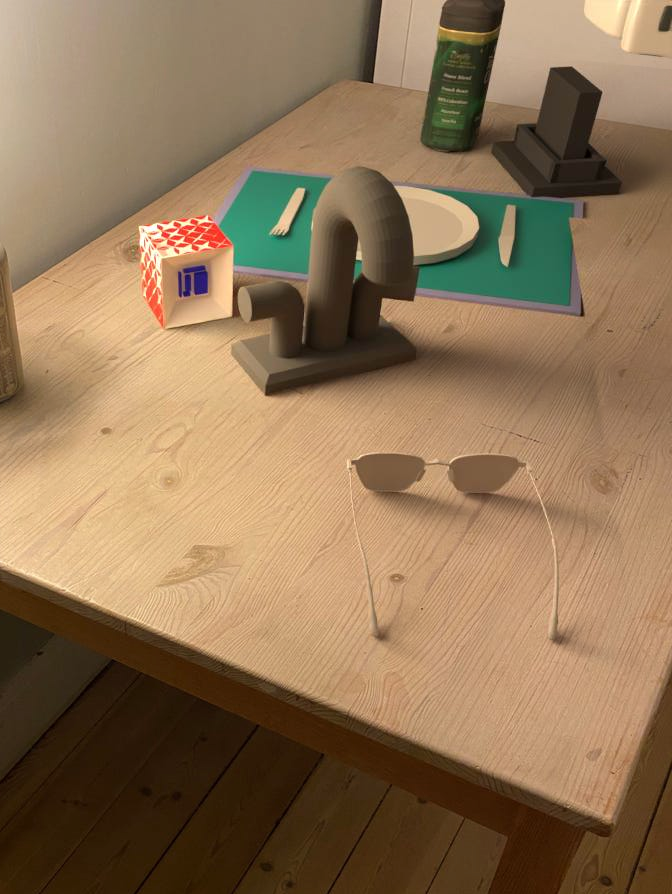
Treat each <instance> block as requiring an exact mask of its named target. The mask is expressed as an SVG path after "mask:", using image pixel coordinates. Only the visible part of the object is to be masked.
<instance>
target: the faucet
mask: <svg viewBox="0 0 672 894" xmlns="http://www.w3.org/2000/svg"><path fill="white" fill-rule="evenodd" d="M334 176H335V177H334V178H333V179H332V180H331V181H330V182H329V183H328V184H327V185H326V186H325V188H324V190H323V192H322V194H321V196H320V198H319V200H318V202H317V206H316V210H315V213H314V217H313V226H312V236H311V248H310V261H309V273H308V282H307V286H306V296H305V297H306V299H305V301H304V299H303V297H302V295H301V293H300V292H299V290H298V289H297V287H295V286H294V285H293V284H291V283H289V282H286V281H284V280H271V281H266V282H261V283H256V284H250V285H245V286H240V288H239V290H238V292H237V307H238V311H239V313H240V317H241V318H242V319H241V320H243V321H244V322H245V323H252V322H257V321H261V320H266V319H270V325H269V327H270V328H269V333H267V334H262V335H257V336H253V337H249V338H245V339H241V340H238V341H236V342H233V343H232V344H231V346H230V354H231V357H233V359H235V361H236V362H237V363H238V365H239V366H240V367H241V368H242V369H243V371H244V372H245V373H246V374H247V375H248V377H249V378H250V379H251V380H252V382H253V383H254V384H255V386H257V388H258V389H259V390H260V392H262V394H263V395H264V396H269V395H272V394H277V393H281V392H285V391H288V390H294V389H297V388H301V387H305V386H310V385H314V384H318V383H322V382H326V381H330V380H334V379H339V378H342V377H343V378H344V377H348V376H350V375H355V374H359V373H364V372H367V371H372V370H376V369H379V368H385V367H387V366H392V365H396V364H400V363H404V362H409V361H413V360H416V359H417V354H418V348H417V347H416V346H415V345H414V344H413V343H412V342H411V341H410V340H409V339H408V338H406V337H405V336H404V335H403V334H402V333H401V332H400V331H399V330H397V328H396V327H394V326H393V325H392V324H391V322H389V321H388V320H387V319H386V318H385V317H384V316H383V315H381V311H382V303H383V299H386V300H387V299H388V300H394V301H395V300H396V301H404V302H405V301H406V302H414V300H415V297H416V296H415V293H416V288H417V282H418V276H419V268H420V266H413V262H414V249H413V235H412V230H411V226H410V221H409V216H408V214H407V211H406V208H405V206H404V203H403V200H402V198H401V197H400V195H399V194H398V192H397V190H396V189H395V187H394V186H393V184H392V183H391V182H390V181H391V180H389V179H388V178H387V177H386V176H385V175H383V174H382V172H380V171H378V170H376V169H373V168H370V167H367V166H355V167H350V168H347V169H343V170H341V171H339V172H338V173H337V174H336V175H334ZM358 239H359V242H360V246H361V254H362V272H361V273H360V274H359V275H358V276H357V277H356V279H355V281H354V272H355V264H356V255H357V247H358ZM353 281H354V282H353ZM304 302H305V303H304Z"/></svg>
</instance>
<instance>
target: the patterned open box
mask: <svg viewBox="0 0 672 894" xmlns="http://www.w3.org/2000/svg"><path fill="white" fill-rule="evenodd" d="M138 236H139V237H138V238H139V253H140V255H139V256H140V270H141V271H140V273H141V290H142V293H141V294H142V298H143V299H144V301H145V302H146V304H147V305H148V307H149V308H150V310H151V311H152V313H153V315H154V316H155V318H156V319H157V321H158V323H159V324H160V326H161V328H162V329H163V330H166V329H172V328H178V327H185V326H189V325H194V324H201V323H205V322H211V321H216V320H221V319H227V318H232V317H233V305H234V304H233V302H234V299H233V295H234V294H233V293H234V289H233V288H234V273H233V256H234V246H233V245H232V243H231V242H230V241H229V240H228V239H227V237H226V236H225V235H224V234H223V232H222V231H221V230H220V229H219V228H218V226H217V225H216V224H215V223H214V221H213V218H212V217H211V216H210V215H209V214H208V215H207V214H206V215H200V216H196V217H195V216H194V217H188V218H182V219H176V220H170V221H169V220H168V221H162V222H156V223H150V224H144V225H143V224H142V225H139V226H138Z"/></svg>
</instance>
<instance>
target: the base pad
mask: <svg viewBox="0 0 672 894" xmlns="http://www.w3.org/2000/svg"><path fill="white" fill-rule="evenodd" d="M536 126H537V122H535V123H518V124H516V129H515V134H514V137H513V140H503V141H501V140H500V141H493V143H492V146H491V151H490V153H491V154H492V156H493V157H494V158H495V159H496V160H497V161H498V163H499V164H500V165H501V166H502V167H503V168H504V170H505V171H506V172H507V173H508V175H509V176H510V177H511V178H512V179H513V180H514V181H515V182H516V184H517V185H518V186H519V187H520V188H521V189H522V191H523V192H524V194H525V195H530V196H531V197H554V198H572V197H573V198H574V197H588V196H590V197H591V196H607V195H619V194H620V192H621V188H622V186H623V181H621V179H619V178H618V177H617V176H616V175H615V174H614V173H613V172H612V171H611V170H610V169H609V168H608V167H607V166H606V165H607V159H606V157H604V156H603V155H602V154H601V153H600V152H599V151H597V149H596V148H594V147H593V146H592V145H591V144H590V142H589V143H588V146H587V150H586V154H585V157H584V159H570V160H558V159H557V158H556V156H555V155H554V154H553V153H552V152H551V151H550V150H549V149H548V148H547V147H546V146H545V145H544V144H543V143H542V142H541V141H540V140H539V139H538V138H537V137H536V136H535V135H534V134H535V130H536Z"/></svg>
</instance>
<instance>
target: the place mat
mask: <svg viewBox="0 0 672 894" xmlns="http://www.w3.org/2000/svg"><path fill="white" fill-rule="evenodd" d="M335 176H336V175H333V174H324V173H323V174H322V173H313V172H302V171H294V170H284V169H274V168H273V169H272V168H265V167H263V168H262V167H253V166H245V168H244V169H243V171H242V173H241V174H240V176H239V177H238V179H237V180H236V182H235V183H234V185H233V187H232V188H231V189H230V192H229V193H228V195H227V196H226V198H225V199H224V201H223V202H222V204H221V205H220V207H219V209H218V210H217V212H216V213H215V214H214V217H213V218H212V220H213V221H214V223H215V224H216V225H217V226H218V228H219V229H220V230H221V231H222V232H223V234H224V235H225V236H226V237H227V239H228V240H229V241H230V242H231V243H232V245H233V246H234V256H233V274H235V273H238V274H237V275H245V276H251V277H261V278H267V277H268V278H269V279H276V280H283V281H293V282H301V283H308V273H309V261H310V248H311V236H312V226H313V217H314V213H315V210H316V206H317V202H318V200H319V198H320V196H321V194H322V192H323V190H324V188H325V186H326V185H327V184H328V183H329V182H330V181H331V180H332V179H333V178H334V177H335ZM389 181H390V182H391V183H392V184H393V186H394V187H395V189H396V190H397V192H398V194H399V195H400V197H401V198H402V200H403V203H404V206H405V208H406V211H407V214H408V216H409V221H410V226H411V230H412V235H413V249H414V262H413V266H420V268H419V276H418V282H417V288H416V293H415V297H422V298H428V299H436V300H437V299H438V300H444V301H452V302H459V303H468V304H469V303H470V304H476V305H485V306H493V307H501V308H508V309H518V310H525V311H533V312H540V313H549V314H555V315H556V314H557V315H564V316H571V317H572V316H573V317H581V314H582V290H581V289H582V288H581V283H580V277H579V271H578V264H577V257H576V253H575V246H574V240H573V235H572V234H573V233H572V228H571V222H570V218H571V219H572V218H573V219H583V218H584V200H583V199H573V198H565V197H558V198H554V197H531V196H530V195H527V194H525V193H524V194H523V193H512V192H502V191H492V190H482V189H472V188H464V187H453V186H442V185H433V184H423V183H415V182H414V183H413V182H404V181H395V180H394V181H393V180H389ZM361 272H362V254H361V246H360V242H359V239H358V247H357V255H356V264H355V272H354V281H355V279H356V277H357V276H358V275H359V274H360V273H361ZM354 281H353V282H354Z"/></svg>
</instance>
